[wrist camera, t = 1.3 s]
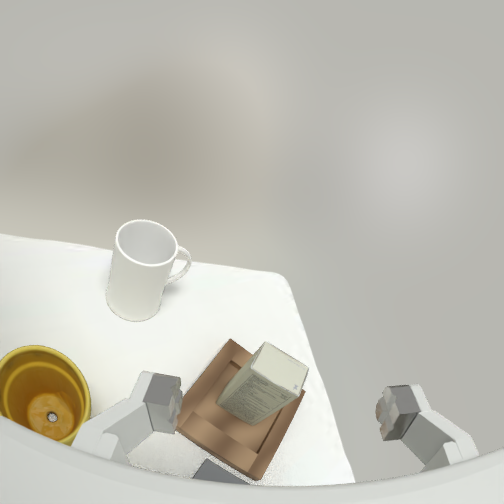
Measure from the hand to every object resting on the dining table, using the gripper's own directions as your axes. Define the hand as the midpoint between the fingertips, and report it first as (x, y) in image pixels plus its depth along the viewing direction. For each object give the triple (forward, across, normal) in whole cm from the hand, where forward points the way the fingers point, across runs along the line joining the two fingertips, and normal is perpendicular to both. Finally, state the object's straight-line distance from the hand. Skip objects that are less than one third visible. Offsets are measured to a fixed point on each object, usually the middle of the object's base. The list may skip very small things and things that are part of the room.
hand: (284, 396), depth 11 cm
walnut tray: (+20, +2, +25) cm, 32 cm away
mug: (+30, +18, +16) cm, 39 cm away
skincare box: (+20, +2, +25) cm, 32 cm away
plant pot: (+8, +24, +20) cm, 32 cm away
